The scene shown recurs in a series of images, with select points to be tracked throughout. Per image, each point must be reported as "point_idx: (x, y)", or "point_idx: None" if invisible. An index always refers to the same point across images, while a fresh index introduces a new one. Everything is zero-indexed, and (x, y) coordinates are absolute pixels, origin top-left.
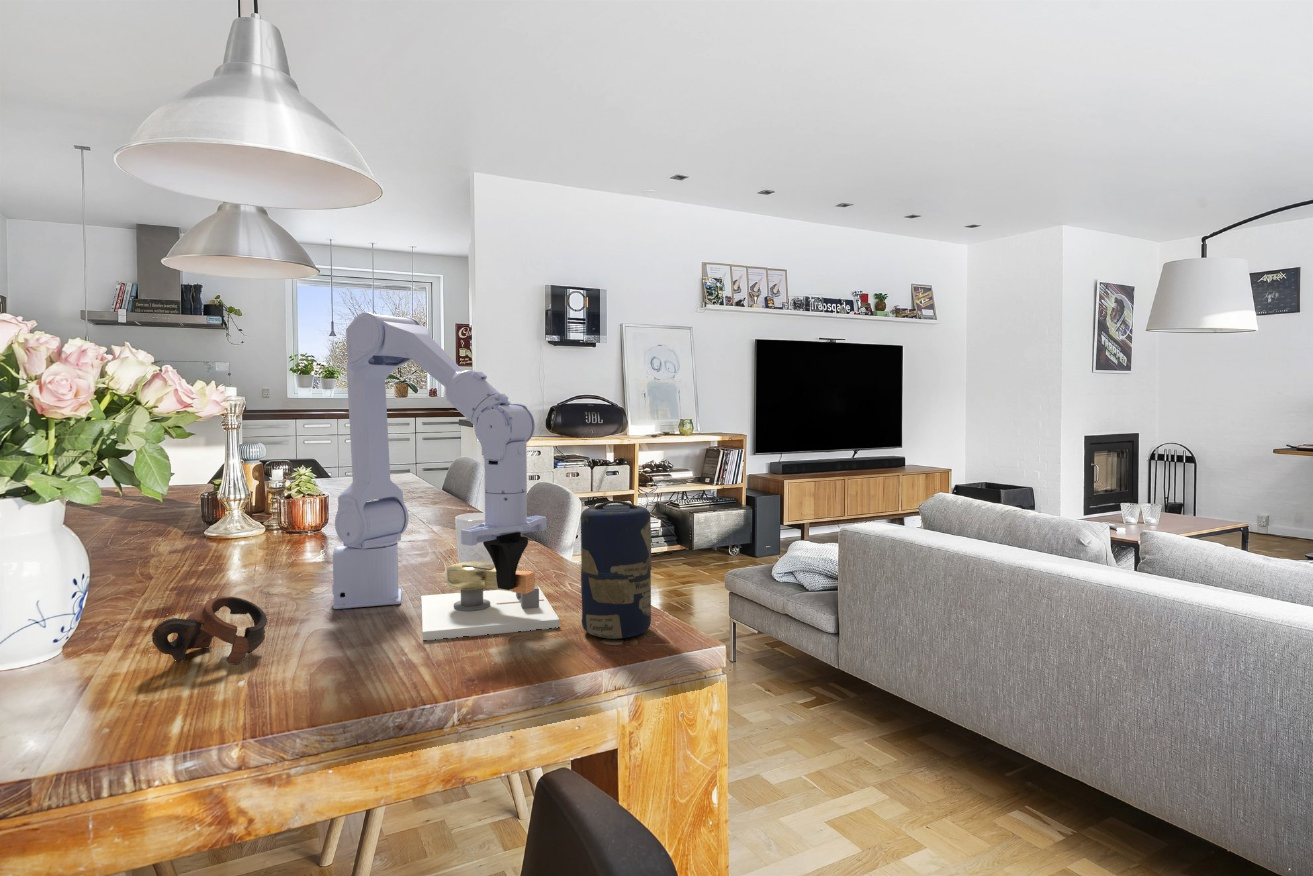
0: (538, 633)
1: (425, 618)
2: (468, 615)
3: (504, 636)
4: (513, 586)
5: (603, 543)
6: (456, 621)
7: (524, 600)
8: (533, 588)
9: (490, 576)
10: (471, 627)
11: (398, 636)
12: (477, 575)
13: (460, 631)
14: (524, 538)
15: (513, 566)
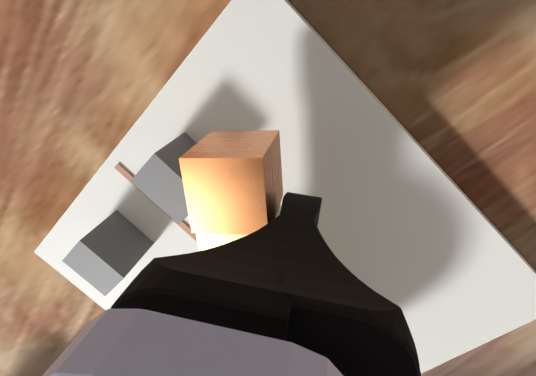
0: (348, 7)
1: (435, 358)
2: (362, 276)
3: (424, 98)
4: (293, 194)
5: None
6: (430, 275)
7: None
8: (217, 133)
9: None
10: (471, 204)
11: (526, 356)
12: None
13: (490, 223)
14: (167, 312)
15: (298, 234)
